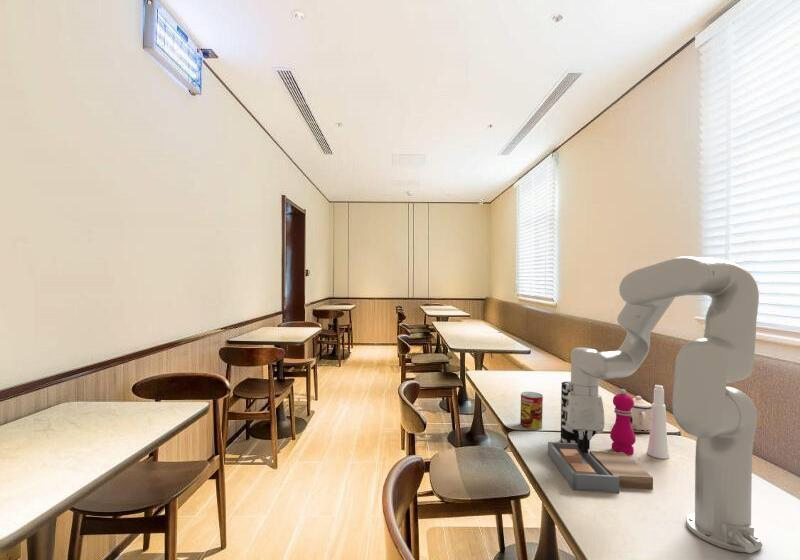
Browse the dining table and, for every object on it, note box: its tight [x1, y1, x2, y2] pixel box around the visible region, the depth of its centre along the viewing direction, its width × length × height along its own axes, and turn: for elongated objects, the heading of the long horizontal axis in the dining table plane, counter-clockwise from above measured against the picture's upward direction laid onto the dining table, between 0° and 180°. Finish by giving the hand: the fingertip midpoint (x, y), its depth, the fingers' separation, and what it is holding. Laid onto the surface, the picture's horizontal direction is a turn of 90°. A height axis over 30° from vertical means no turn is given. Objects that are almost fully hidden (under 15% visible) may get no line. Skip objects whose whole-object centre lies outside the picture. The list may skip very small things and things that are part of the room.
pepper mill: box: [609, 388, 637, 456], centre depth 131 cm, size 7×7×20 cm
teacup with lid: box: [630, 395, 652, 432], centre depth 153 cm, size 12×9×12 cm
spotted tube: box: [560, 381, 585, 443], centre depth 136 cm, size 8×8×20 cm
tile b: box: [559, 449, 582, 464], centre depth 121 cm, size 5×5×2 cm
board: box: [589, 450, 654, 490], centre depth 115 cm, size 16×10×3 cm, turn 176°
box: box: [547, 441, 620, 494], centre depth 115 cm, size 22×12×4 cm, turn 176°
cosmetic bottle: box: [646, 384, 670, 460], centre depth 128 cm, size 6×6×22 cm
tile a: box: [570, 463, 595, 474], centre depth 111 cm, size 5×5×2 cm
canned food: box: [519, 391, 544, 431], centre depth 152 cm, size 8×8×12 cm
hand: (583, 451), depth 120 cm, fingers closed
